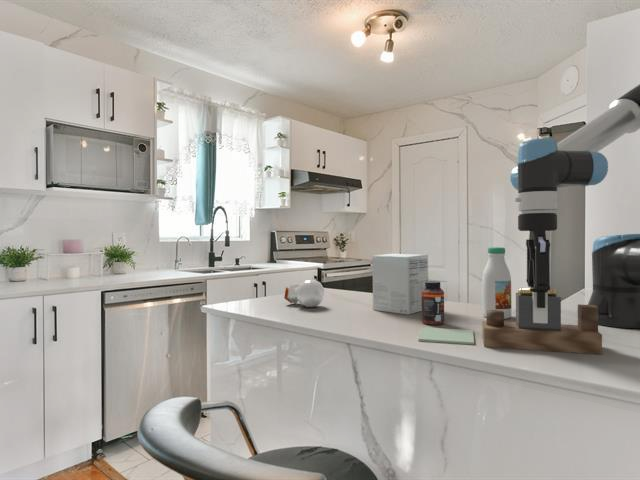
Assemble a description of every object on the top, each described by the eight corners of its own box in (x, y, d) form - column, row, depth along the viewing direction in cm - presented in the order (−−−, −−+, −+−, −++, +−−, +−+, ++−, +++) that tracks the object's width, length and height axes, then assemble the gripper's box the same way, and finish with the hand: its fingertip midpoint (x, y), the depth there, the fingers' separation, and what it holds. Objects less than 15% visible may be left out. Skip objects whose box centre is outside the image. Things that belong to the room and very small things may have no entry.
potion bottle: (320, 313, 138) (289, 313, 149) (334, 293, 144) (304, 294, 155) (305, 292, 135) (275, 293, 145) (321, 272, 141) (291, 274, 151)
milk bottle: (484, 319, 120) (483, 248, 120) (480, 313, 128) (480, 246, 127) (513, 320, 118) (513, 247, 118) (508, 314, 126) (508, 246, 125)
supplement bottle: (445, 325, 113) (445, 283, 112) (422, 325, 114) (421, 282, 114) (443, 321, 118) (443, 280, 118) (421, 320, 120) (421, 280, 119)
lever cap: (555, 325, 94) (555, 287, 94) (560, 330, 89) (560, 290, 89) (515, 323, 96) (515, 286, 96) (518, 328, 92) (518, 289, 91)
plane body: (590, 344, 93) (590, 303, 93) (601, 354, 86) (602, 309, 85) (482, 337, 100) (482, 299, 100) (484, 346, 92) (484, 305, 92)
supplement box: (429, 308, 137) (429, 254, 137) (408, 315, 127) (408, 256, 127) (394, 304, 146) (393, 253, 146) (371, 310, 136) (371, 255, 136)
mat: (472, 332, 105) (472, 330, 105) (474, 344, 94) (474, 342, 94) (422, 329, 109) (422, 327, 109) (418, 341, 98) (418, 338, 98)
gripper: (513, 214, 102) (513, 310, 103) (524, 211, 84) (524, 328, 85) (548, 213, 100) (548, 312, 100) (567, 210, 82) (567, 330, 83)
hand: (537, 319), depth 93 cm, fingers open, 6 cm apart
